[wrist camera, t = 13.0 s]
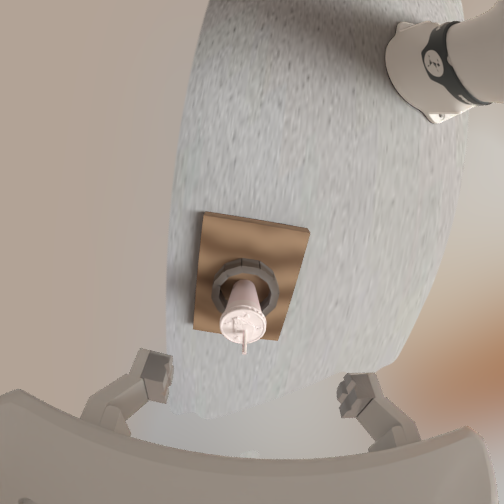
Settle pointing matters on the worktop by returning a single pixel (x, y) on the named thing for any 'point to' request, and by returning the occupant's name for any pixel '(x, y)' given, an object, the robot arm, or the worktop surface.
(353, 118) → the worktop surface
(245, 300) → the smoothie
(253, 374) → the worktop surface
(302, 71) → the worktop surface
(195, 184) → the worktop surface
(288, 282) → the stand
